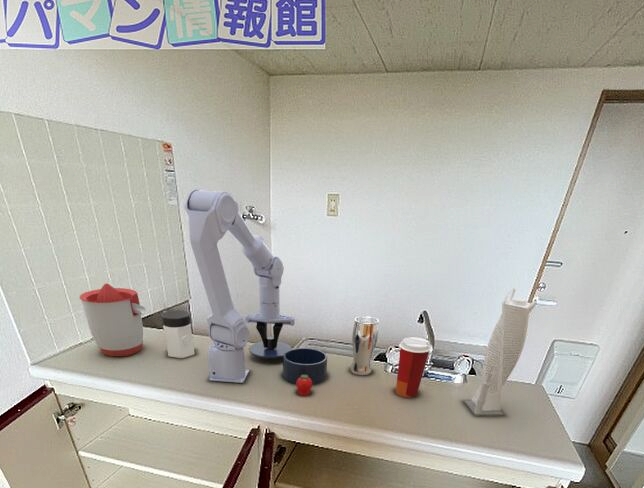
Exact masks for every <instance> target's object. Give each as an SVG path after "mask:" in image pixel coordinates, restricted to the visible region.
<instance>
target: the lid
mask: <svg viewBox="0 0 644 488" xmlns="http://www.w3.org/2000/svg"><path fill="white" fill-rule="evenodd" d="M266 343H267V347H266V348H264V345H263V341H258V342H255V343H253V344H251V345H250V346H249V348H248V351H249V353H250V354H251V355H253V356H254V357H257V358H261V359H279V358H283V355H284V353H285V352H287V351H289V350H291V349H293V348H292V346H291V345H290V344H289V343H286V342H283V341H278V342H277V347H276V348H274V346H273V345H274V336H267V338H266Z"/></svg>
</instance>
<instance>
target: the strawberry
mask: <svg viewBox="0 0 644 488" xmlns="http://www.w3.org/2000/svg"><path fill="white" fill-rule="evenodd" d="M295 386H296V389H297V394H298V395H300V396H310V394H311V391H312V390H311V389H312V387H313V385H312V380H311V379H310V378H309V377H308V375H301V377H299V378H298V380H297V382H296V384H295Z"/></svg>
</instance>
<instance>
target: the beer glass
mask: <svg viewBox="0 0 644 488" xmlns="http://www.w3.org/2000/svg"><path fill="white" fill-rule="evenodd" d="M379 325H380V320H379V318H376V317H373V316H369V315H368V316H357V317H355V318H354V323H353V328H352V337H351V341H352V363H351V366H350V372H351V373H352V374H354V375H357V376H368V375H371V373H372V359H373V355H374V352H375V350H376V347H377V342H378V337H379V327H380V326H379Z"/></svg>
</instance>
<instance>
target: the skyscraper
mask: <svg viewBox="0 0 644 488" xmlns="http://www.w3.org/2000/svg"><path fill="white" fill-rule="evenodd" d="M515 293H516V288H515V287H514V288H512V289H510V290H509V291H508V292H507V294H506V295H505V297H504V298H503V301H502V303H501V314H500V316H499V318H498V319H497V322H496V324H495V326H494V328H493V330H492V333H491V335H490V337H489V340H488V344H487V347H486V351H485V354H484V360H483V365H482V372H481V378H480V379H481V380H480V386H479V387H478V388H477V390H476V392H475V394H474V395H473V397H472V398H471V400H464V401H463V403H464V404H465V405H466V407H467V408H468V409H469V410H470V412H472V413H473V415H474V416H475V417H487V416H489V417H490V416H491V417H493V416H495V417H496V416H498V417H499V416H504V412H502V411H501V406H502V405H501V404H502V387H503V386H504V385H505V384H506V382H507V381H508V379H509V378H510V376H511V375H512V373H513V371H514V369H515V367H516V366H517V364H518V362H519V359H520V358H521V355H522V352H523V350H524V346H525V342H526V338H527V334H528V326H529V317H530V313H531V312H532V311H533V310H534V308H535V307H536V305H537V301H536V300H534V301H532V302H528V300H527V299H526V298H522V297H514V295H515ZM509 296H510V298H509ZM508 298H509V300H508Z"/></svg>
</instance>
